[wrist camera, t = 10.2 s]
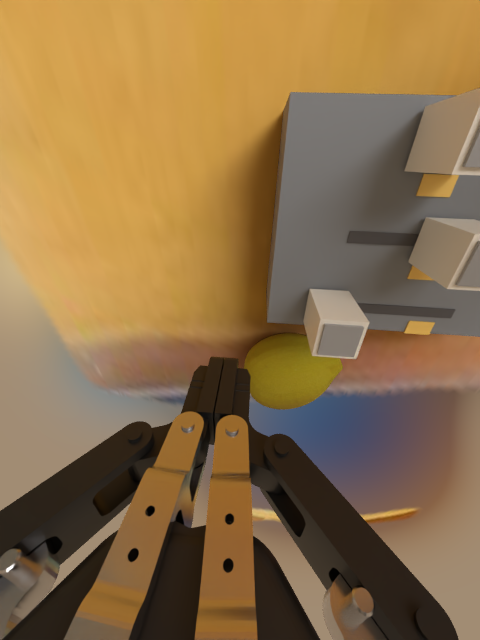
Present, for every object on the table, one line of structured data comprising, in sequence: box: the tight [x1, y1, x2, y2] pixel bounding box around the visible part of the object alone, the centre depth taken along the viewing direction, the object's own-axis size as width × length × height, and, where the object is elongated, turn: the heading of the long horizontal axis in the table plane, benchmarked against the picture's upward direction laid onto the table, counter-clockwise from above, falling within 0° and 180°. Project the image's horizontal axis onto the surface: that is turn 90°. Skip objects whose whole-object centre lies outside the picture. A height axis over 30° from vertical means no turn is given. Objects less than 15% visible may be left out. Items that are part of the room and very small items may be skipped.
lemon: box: [244, 333, 343, 409], centre depth 27 cm, size 11×8×8 cm
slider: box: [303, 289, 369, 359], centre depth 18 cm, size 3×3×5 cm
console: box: [266, 92, 480, 337], centre depth 20 cm, size 22×16×6 cm
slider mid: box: [408, 217, 480, 291], centre depth 15 cm, size 3×3×5 cm
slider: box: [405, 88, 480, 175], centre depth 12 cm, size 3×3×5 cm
